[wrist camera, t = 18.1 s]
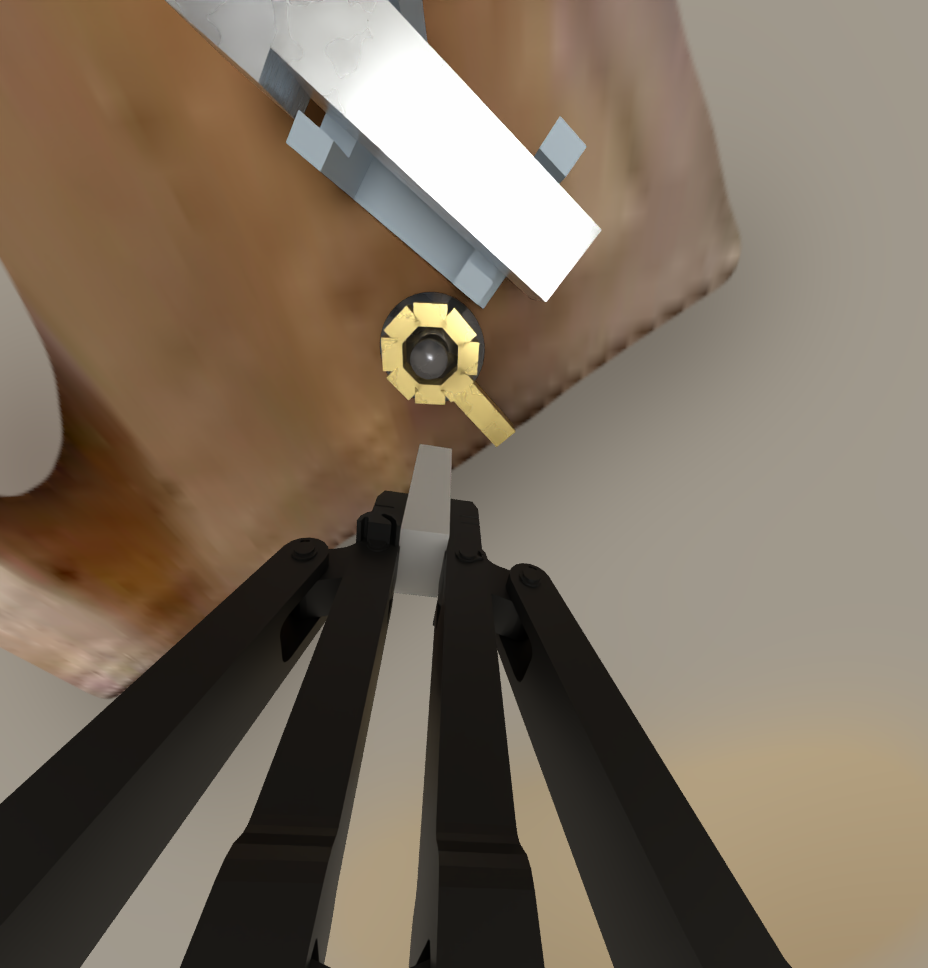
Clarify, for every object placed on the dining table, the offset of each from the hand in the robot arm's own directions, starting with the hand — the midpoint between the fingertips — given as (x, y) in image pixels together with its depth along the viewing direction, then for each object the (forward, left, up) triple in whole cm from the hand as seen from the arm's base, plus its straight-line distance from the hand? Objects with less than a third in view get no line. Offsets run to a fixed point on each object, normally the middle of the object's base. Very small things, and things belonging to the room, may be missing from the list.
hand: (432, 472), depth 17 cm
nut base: (-2, +2, -18) cm, 19 cm away
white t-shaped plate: (-10, +12, -13) cm, 20 cm away
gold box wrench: (0, +1, -17) cm, 17 cm away
